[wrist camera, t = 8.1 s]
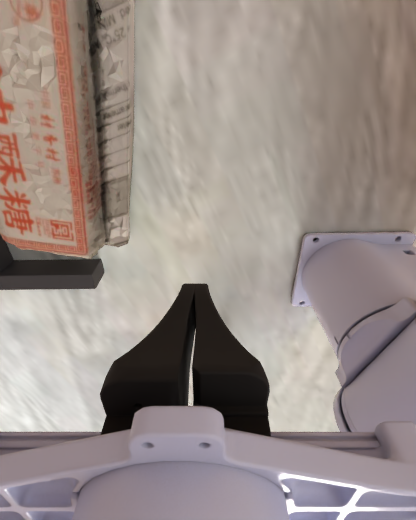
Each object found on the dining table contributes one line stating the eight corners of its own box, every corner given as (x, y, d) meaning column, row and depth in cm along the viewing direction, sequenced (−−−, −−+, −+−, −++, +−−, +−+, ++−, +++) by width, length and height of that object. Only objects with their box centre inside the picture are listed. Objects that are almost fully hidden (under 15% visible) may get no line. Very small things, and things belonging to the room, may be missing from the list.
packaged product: (118, 272, 20) (-27, 253, 19) (133, 241, 24) (14, 225, 23) (111, -106, 11) (-172, -174, 10) (138, -52, 15) (-60, -97, 14)
